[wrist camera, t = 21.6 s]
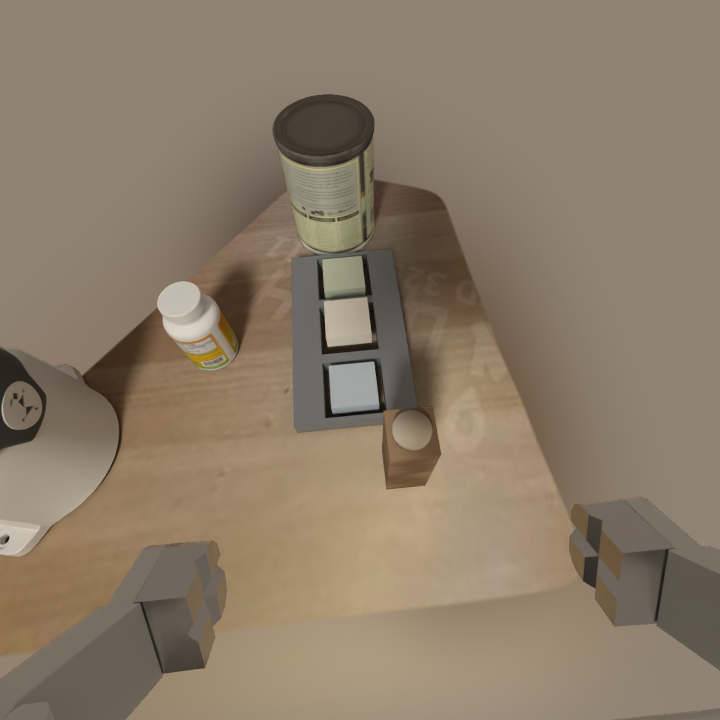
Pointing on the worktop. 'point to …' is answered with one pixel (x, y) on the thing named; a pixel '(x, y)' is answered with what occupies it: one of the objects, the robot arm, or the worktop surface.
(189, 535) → the worktop surface
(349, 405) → the key
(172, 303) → the supplement bottle
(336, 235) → the coffee can
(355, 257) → the key
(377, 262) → the keypad
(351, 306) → the key mid
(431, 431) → the wooden pepper mill
